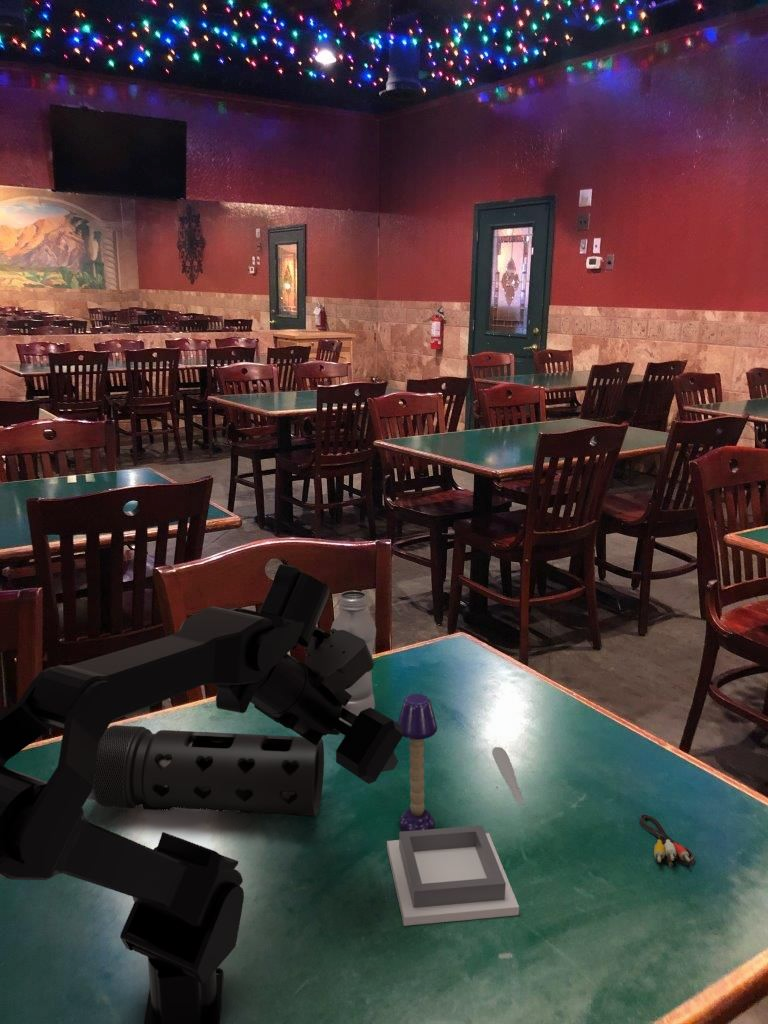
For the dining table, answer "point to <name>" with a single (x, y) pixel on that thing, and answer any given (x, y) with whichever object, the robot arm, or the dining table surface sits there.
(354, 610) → the plastic bottle
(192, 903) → the robot arm
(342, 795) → the dining table surface
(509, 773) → the butter knife
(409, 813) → the toy lamp
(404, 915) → the socket plate
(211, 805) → the muzzle brake
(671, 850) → the composite cable
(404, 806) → the dining table surface
